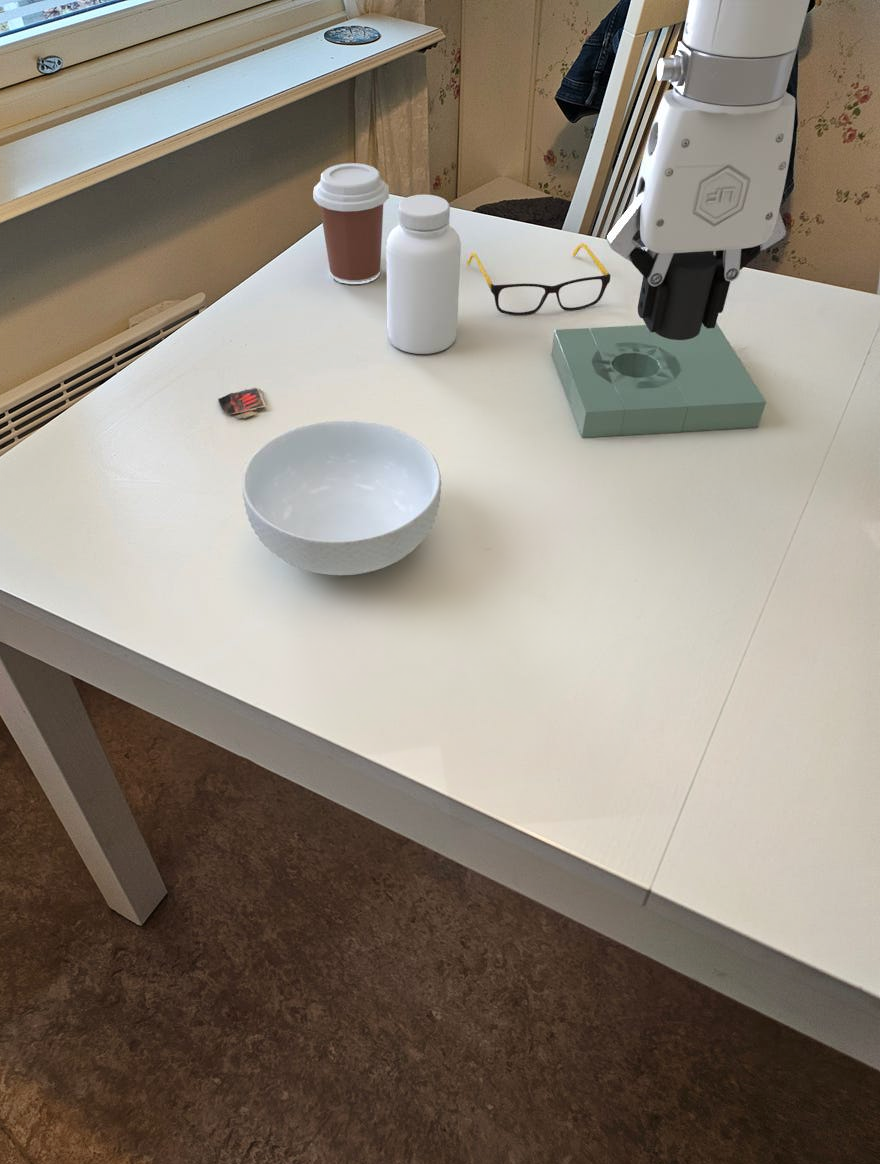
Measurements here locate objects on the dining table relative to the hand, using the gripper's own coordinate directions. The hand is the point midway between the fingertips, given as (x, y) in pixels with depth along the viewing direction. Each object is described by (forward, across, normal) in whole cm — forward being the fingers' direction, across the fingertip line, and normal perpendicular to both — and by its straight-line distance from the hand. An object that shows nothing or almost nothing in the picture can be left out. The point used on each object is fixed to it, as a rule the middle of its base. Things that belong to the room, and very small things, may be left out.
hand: (677, 320), depth 75 cm
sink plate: (+15, +4, +13) cm, 21 cm away
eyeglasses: (+15, -3, +37) cm, 41 cm away
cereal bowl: (+15, -29, -7) cm, 34 cm away
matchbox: (+15, -39, +15) cm, 44 cm away
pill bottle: (+15, -18, +27) cm, 36 cm away
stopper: (+1, 0, 0) cm, 1 cm away
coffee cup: (+15, -25, +44) cm, 53 cm away
